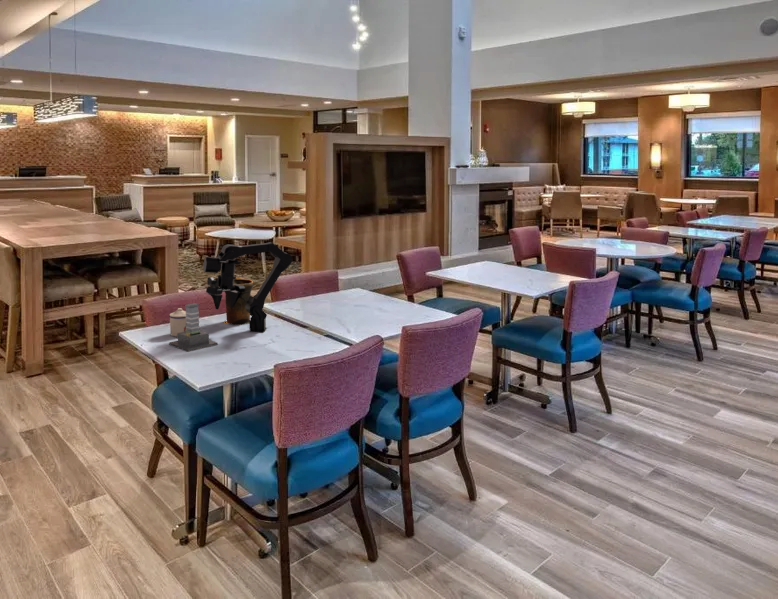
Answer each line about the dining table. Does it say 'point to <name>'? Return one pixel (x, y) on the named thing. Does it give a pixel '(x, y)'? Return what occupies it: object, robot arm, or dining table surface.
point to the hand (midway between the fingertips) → (224, 308)
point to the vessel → (239, 304)
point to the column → (192, 318)
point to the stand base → (193, 341)
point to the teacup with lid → (177, 322)
